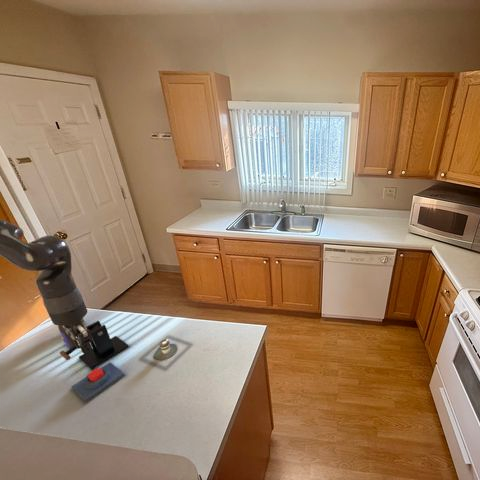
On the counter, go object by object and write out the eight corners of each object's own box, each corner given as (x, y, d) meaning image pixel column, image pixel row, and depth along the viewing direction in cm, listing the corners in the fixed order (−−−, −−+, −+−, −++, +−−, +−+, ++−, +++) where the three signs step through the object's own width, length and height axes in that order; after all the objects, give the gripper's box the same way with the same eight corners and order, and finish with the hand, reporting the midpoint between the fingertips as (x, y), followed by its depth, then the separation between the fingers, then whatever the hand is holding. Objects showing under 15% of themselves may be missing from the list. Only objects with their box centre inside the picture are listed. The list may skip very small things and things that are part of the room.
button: (93, 383, 82) (91, 379, 81) (87, 378, 83) (85, 374, 83) (106, 375, 85) (104, 371, 84) (100, 370, 86) (99, 366, 86)
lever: (69, 361, 84) (63, 358, 83) (62, 355, 86) (57, 351, 85) (105, 331, 92) (101, 328, 91) (98, 326, 94) (94, 323, 93)
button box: (85, 402, 79) (82, 396, 78) (72, 389, 83) (69, 382, 81) (124, 375, 88) (122, 369, 87) (111, 364, 91) (108, 358, 90)
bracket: (91, 370, 89) (79, 342, 84) (79, 359, 93) (67, 332, 88) (128, 347, 99) (120, 321, 94) (116, 338, 103) (107, 312, 97)
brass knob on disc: (140, 359, 94) (137, 349, 92) (167, 336, 105) (165, 327, 103) (165, 369, 91) (162, 359, 89) (191, 344, 101) (189, 335, 99)
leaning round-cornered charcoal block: (71, 326, 107) (63, 308, 103) (86, 322, 109) (78, 305, 106) (61, 353, 94) (51, 334, 91) (77, 349, 97) (69, 330, 93)
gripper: (37, 303, 72) (59, 348, 79) (59, 321, 66) (80, 367, 73) (70, 290, 78) (88, 332, 85) (93, 305, 72) (110, 350, 79)
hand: (84, 348), depth 79 cm, fingers open, 3 cm apart
